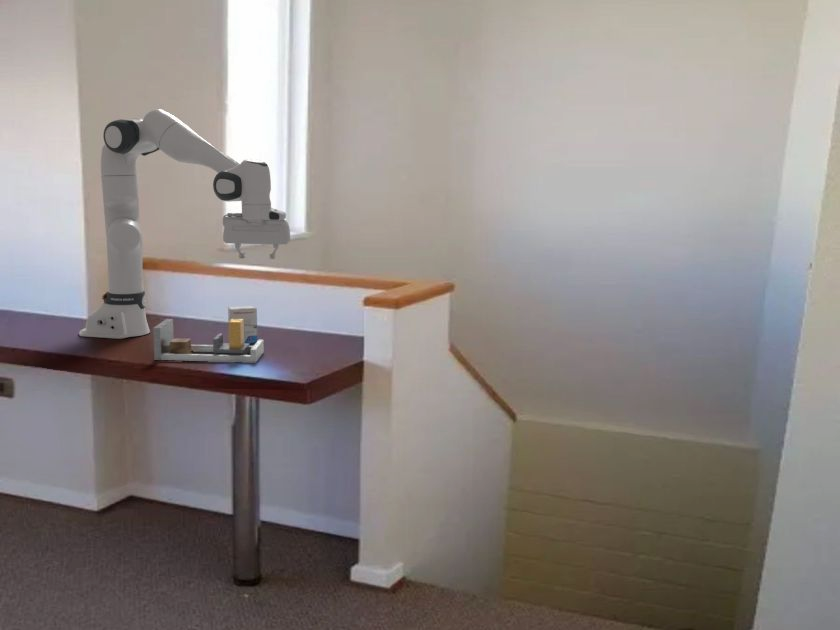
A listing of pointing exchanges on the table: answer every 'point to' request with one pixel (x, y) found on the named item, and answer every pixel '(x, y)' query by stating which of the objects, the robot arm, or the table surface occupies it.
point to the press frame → (197, 348)
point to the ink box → (246, 321)
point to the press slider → (232, 340)
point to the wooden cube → (180, 346)
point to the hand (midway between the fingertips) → (257, 258)
